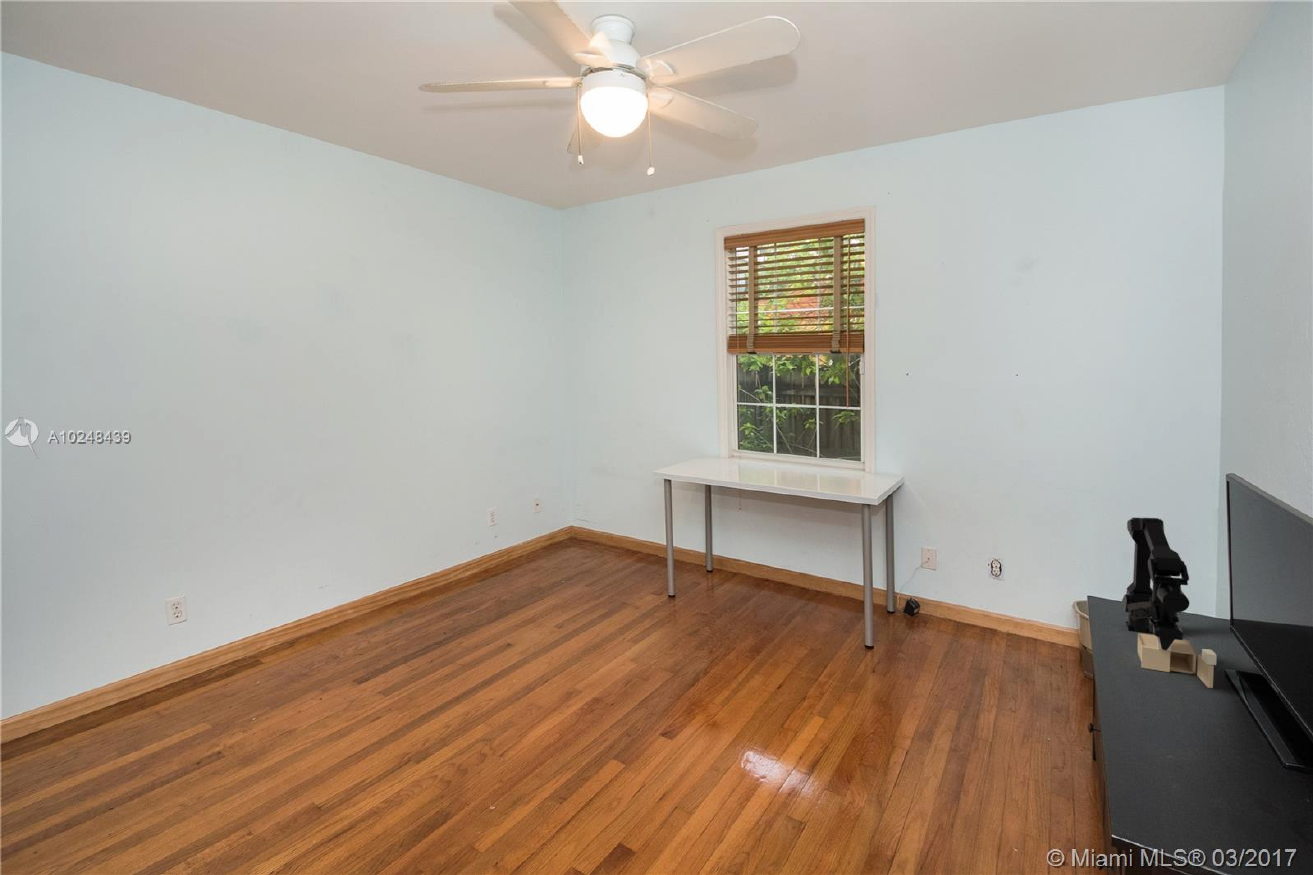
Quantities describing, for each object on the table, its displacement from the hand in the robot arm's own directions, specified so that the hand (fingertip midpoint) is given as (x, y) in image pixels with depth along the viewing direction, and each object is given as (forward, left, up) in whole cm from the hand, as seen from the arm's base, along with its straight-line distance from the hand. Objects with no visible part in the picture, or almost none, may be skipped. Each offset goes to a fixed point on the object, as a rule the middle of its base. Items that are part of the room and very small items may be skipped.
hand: (1163, 647), depth 176 cm
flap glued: (0, -2, -7) cm, 7 cm away
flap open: (+3, +9, -7) cm, 12 cm away
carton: (-5, +1, -7) cm, 9 cm away
